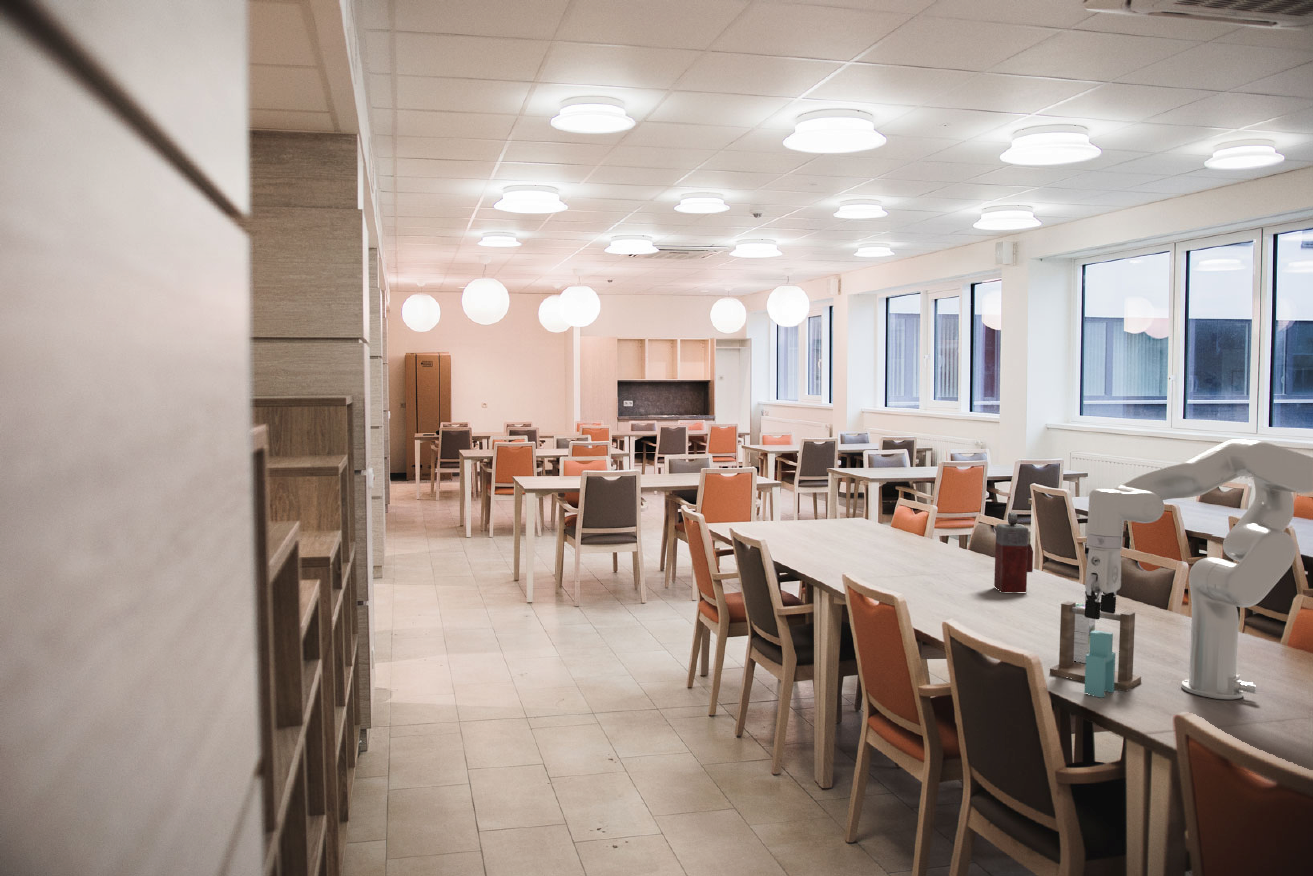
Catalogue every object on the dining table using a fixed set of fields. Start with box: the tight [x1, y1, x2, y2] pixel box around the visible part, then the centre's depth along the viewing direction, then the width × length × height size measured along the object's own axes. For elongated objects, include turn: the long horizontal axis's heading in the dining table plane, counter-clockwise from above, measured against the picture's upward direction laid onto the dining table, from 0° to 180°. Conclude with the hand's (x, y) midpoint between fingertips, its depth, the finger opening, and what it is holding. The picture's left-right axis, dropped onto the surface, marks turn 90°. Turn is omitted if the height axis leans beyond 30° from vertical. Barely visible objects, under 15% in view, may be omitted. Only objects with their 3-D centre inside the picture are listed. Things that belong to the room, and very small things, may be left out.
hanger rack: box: [1049, 601, 1142, 692], centre depth 231 cm, size 18×10×18 cm, turn 45°
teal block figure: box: [1084, 629, 1116, 698], centre depth 220 cm, size 4×7×14 cm, turn 135°
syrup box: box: [1073, 602, 1096, 664], centre depth 247 cm, size 6×6×14 cm
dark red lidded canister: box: [993, 512, 1034, 593], centre depth 335 cm, size 9×11×28 cm
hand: (1099, 615), depth 219 cm, fingers open, 9 cm apart
